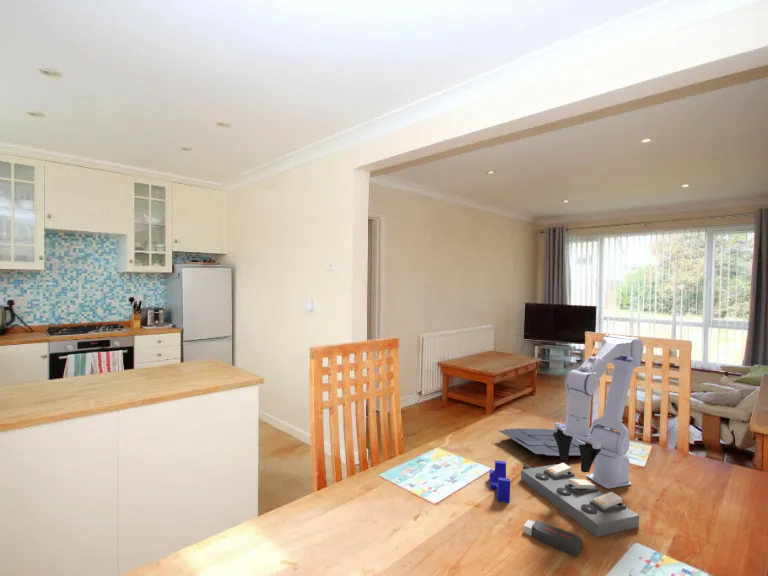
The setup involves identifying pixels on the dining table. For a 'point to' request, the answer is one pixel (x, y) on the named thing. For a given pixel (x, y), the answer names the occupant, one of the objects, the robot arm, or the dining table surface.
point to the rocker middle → (581, 483)
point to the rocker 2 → (607, 500)
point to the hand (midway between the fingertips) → (574, 465)
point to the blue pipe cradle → (500, 481)
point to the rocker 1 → (559, 469)
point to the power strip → (579, 502)
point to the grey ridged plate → (540, 441)
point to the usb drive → (553, 537)
